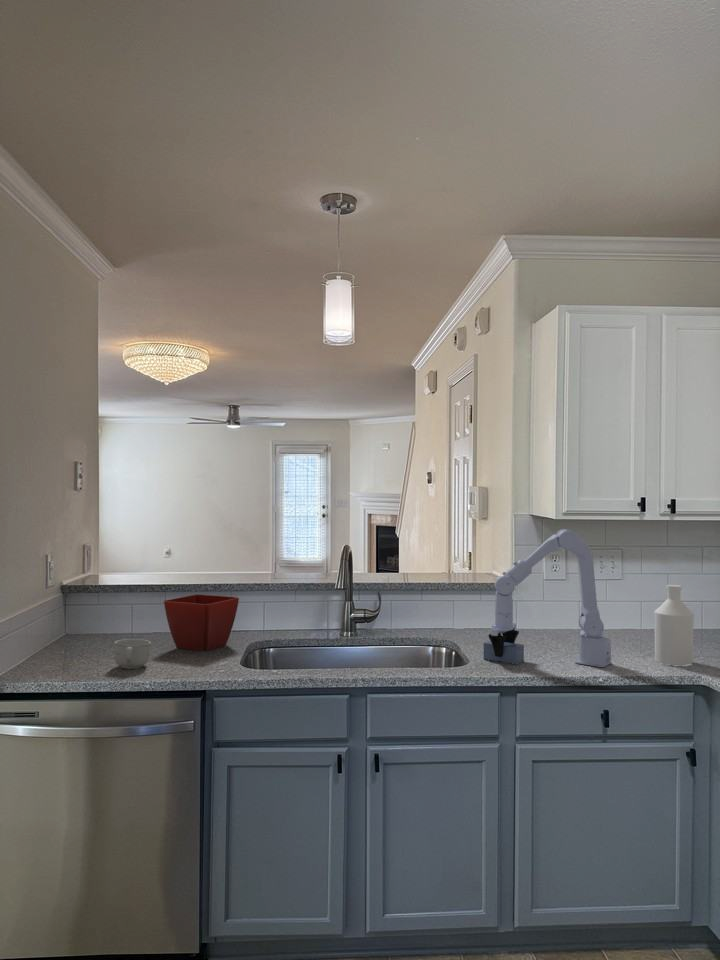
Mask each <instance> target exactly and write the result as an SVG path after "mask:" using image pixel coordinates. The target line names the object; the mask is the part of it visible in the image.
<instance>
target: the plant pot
mask: <svg viewBox="0 0 720 960" xmlns="http://www.w3.org/2000/svg"><path fill="white" fill-rule="evenodd" d="M239 599H240V598H239V597H238V596H237V597H236V596H226V595H225V596H224V595H212V594H191V595H187V596H180V597H176V598H170V599H166V600H163V603H164V609H165V611H164V612H165V616H166V619H167V623H168V628H169V631H170V634H171V637H172V640H173V642H174V645H175V647H176V648H177V649H184V650H192V651H193V650H194V651H199V652H206V651H207V652H208V651H211V650H213V649H217V647H218V648H220V647H224V646H226V645H227V643H228V640H229V638H230V635H231V632H232V629H233V627H234V622H235V620H236V617H237V616H236V615H237V611H238V606H239Z"/></svg>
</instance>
